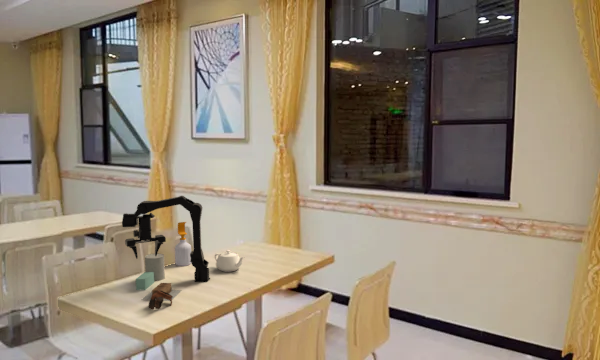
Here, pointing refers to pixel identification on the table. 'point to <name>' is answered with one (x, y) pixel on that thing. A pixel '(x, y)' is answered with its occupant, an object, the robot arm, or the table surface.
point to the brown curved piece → (159, 299)
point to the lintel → (144, 280)
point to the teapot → (228, 261)
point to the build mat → (173, 293)
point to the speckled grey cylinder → (155, 266)
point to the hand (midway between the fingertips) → (146, 257)
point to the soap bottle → (182, 248)
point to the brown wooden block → (159, 289)
